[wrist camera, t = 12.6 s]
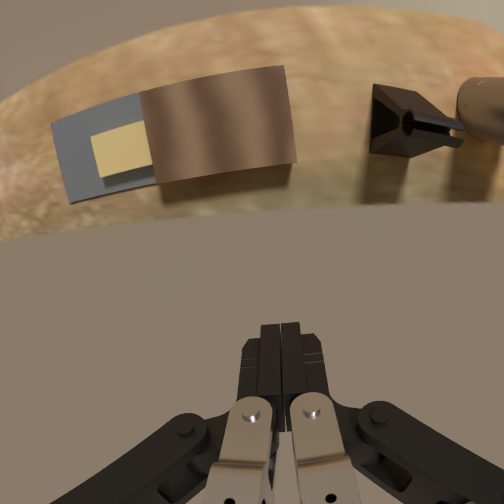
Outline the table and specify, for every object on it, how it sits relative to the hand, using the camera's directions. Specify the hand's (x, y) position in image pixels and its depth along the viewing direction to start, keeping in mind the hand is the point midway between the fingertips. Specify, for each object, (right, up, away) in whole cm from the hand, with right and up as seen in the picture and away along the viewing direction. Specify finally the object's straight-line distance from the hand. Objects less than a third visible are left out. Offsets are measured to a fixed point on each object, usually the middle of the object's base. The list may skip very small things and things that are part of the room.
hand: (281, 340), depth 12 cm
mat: (-21, +17, +25) cm, 36 cm away
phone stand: (+17, +20, +23) cm, 35 cm away
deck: (-5, +19, +24) cm, 31 cm away
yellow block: (-17, +17, +24) cm, 34 cm away
